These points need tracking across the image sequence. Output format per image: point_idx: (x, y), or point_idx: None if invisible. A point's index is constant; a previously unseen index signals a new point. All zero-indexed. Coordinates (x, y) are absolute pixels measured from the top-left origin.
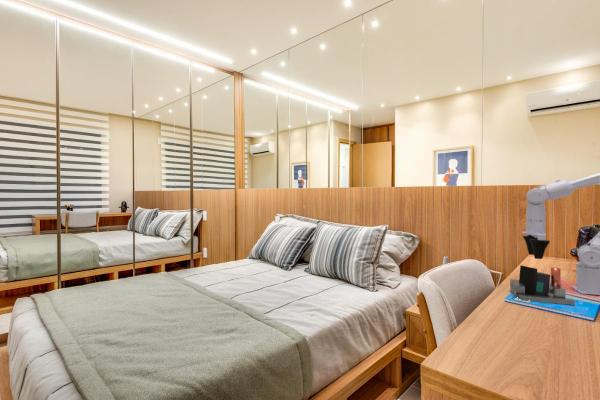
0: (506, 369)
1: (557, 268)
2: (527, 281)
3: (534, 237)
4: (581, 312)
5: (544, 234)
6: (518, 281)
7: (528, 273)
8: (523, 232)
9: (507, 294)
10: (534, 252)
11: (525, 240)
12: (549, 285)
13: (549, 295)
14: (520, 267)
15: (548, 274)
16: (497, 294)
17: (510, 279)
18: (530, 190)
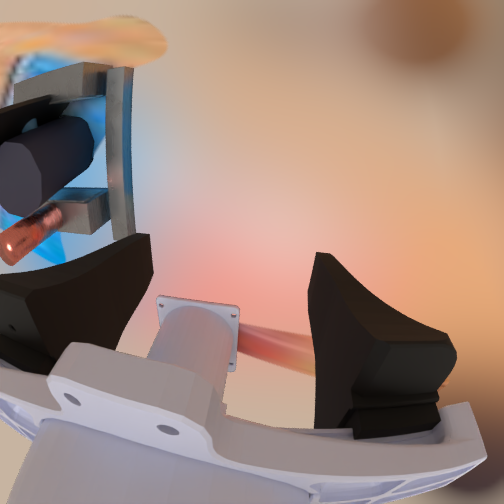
0: None
1: (5, 255)
2: (25, 125)
3: (332, 423)
4: (11, 219)
5: (5, 422)
6: (59, 93)
7: (2, 135)
8: (56, 365)
9: (68, 57)
10: (102, 249)
11: (371, 318)
12: (60, 200)
13: (87, 188)
14: (3, 108)
15: (22, 212)
16: (62, 30)
17: (80, 63)
18: None
